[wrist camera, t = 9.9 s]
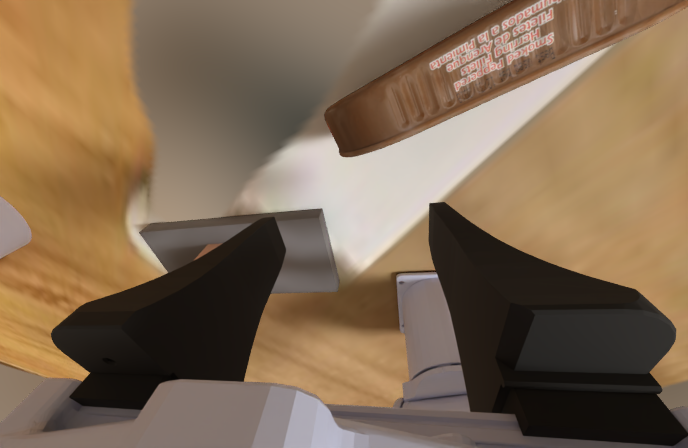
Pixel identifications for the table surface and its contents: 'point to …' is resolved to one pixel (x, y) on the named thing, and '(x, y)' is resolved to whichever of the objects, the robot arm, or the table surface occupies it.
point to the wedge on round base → (12, 229)
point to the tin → (485, 65)
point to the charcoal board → (194, 235)
